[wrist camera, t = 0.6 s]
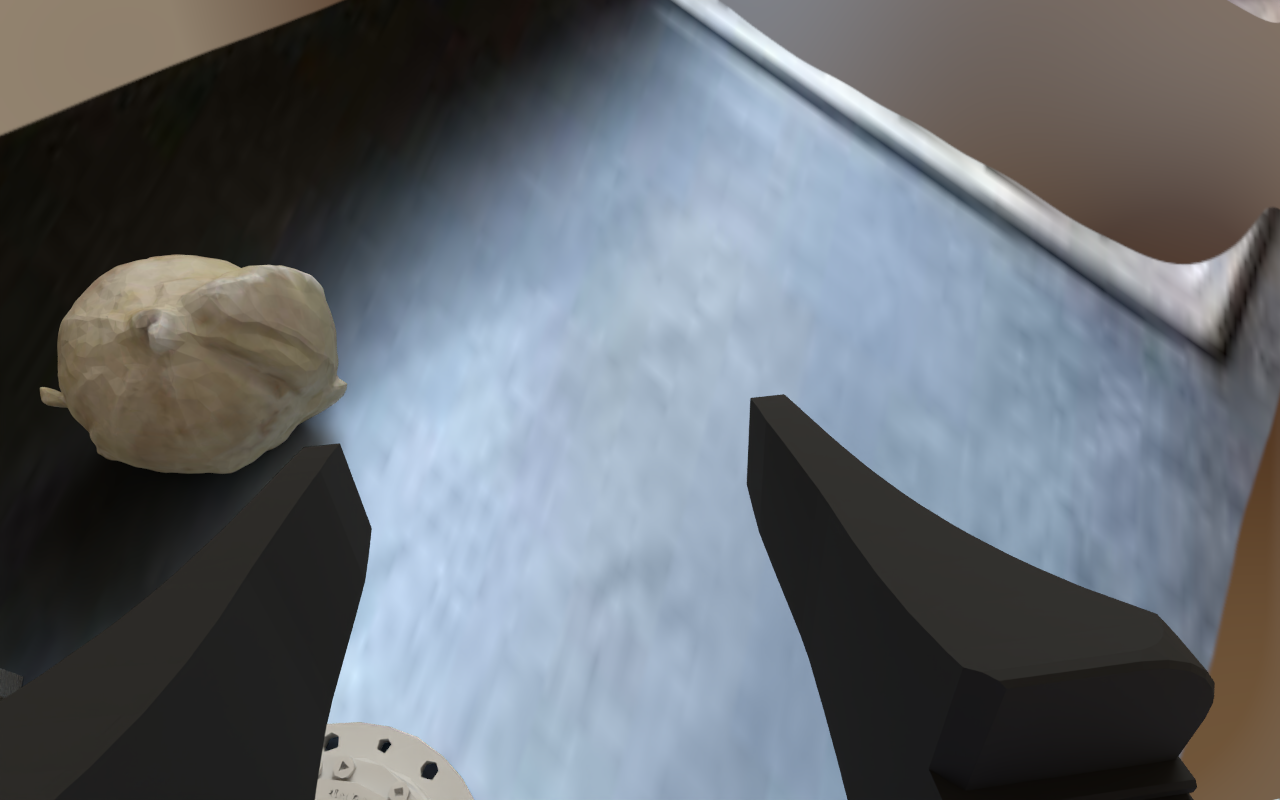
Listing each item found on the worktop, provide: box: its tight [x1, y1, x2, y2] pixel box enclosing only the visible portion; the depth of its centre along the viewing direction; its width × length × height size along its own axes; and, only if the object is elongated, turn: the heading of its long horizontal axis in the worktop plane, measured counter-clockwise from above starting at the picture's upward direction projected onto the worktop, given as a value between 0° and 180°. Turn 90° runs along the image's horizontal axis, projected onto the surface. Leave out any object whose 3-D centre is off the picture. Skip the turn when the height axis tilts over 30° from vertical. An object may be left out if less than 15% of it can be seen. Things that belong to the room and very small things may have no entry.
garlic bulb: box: [40, 255, 347, 474], centre depth 26 cm, size 9×8×10 cm
